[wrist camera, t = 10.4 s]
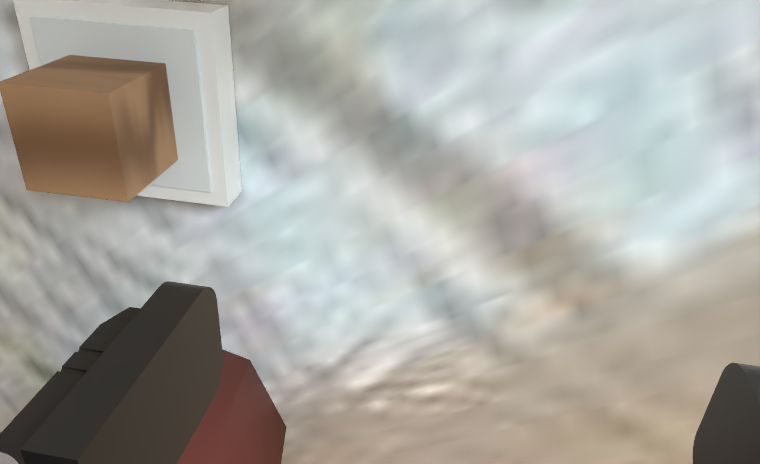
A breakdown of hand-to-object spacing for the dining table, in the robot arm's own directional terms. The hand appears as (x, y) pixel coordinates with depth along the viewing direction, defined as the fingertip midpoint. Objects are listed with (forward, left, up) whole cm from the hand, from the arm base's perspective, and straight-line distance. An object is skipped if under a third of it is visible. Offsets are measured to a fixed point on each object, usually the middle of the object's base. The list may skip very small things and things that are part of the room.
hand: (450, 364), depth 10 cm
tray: (+6, -21, -28) cm, 36 cm away
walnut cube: (+6, -21, -25) cm, 33 cm away
